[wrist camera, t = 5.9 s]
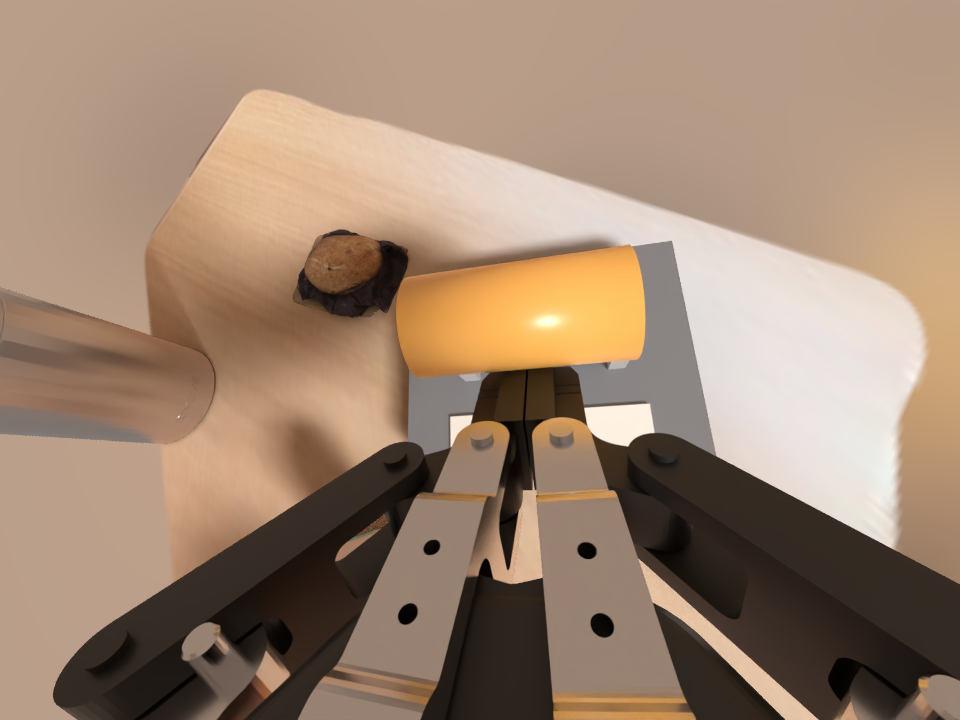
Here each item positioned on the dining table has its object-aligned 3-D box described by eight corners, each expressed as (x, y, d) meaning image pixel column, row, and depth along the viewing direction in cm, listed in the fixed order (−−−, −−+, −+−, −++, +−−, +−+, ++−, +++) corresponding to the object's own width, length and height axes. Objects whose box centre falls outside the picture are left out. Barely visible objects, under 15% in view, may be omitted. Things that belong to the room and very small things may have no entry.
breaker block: (689, 465, 25) (737, 463, 18) (432, 474, 29) (389, 475, 22) (654, 277, 29) (683, 216, 22) (433, 305, 33) (396, 260, 26)
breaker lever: (600, 369, 23) (675, 354, 8) (487, 379, 24) (382, 379, 10) (595, 321, 23) (659, 222, 9) (483, 333, 24) (374, 265, 10)
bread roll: (293, 308, 37) (265, 291, 33) (324, 232, 38) (300, 209, 35) (388, 329, 34) (368, 313, 30) (417, 246, 35) (401, 222, 32)
